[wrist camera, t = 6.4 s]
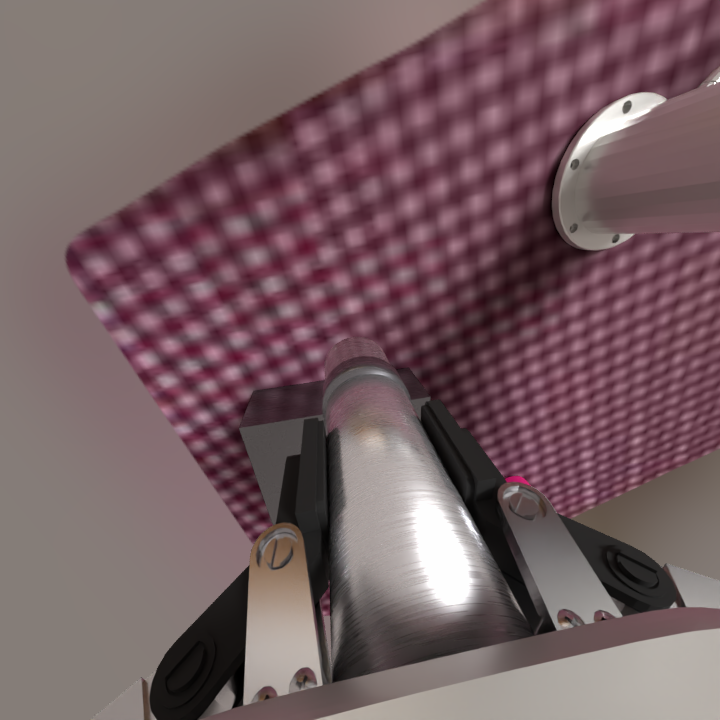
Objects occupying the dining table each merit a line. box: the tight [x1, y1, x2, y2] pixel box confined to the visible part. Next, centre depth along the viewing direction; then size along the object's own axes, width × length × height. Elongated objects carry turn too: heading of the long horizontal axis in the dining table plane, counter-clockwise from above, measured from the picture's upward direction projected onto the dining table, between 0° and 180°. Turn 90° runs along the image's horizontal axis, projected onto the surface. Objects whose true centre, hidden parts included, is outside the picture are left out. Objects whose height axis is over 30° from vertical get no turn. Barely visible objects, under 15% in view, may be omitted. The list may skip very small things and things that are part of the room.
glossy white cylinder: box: [322, 337, 535, 683], centre depth 11 cm, size 4×4×14 cm
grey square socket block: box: [239, 368, 430, 525], centre depth 31 cm, size 18×16×7 cm
